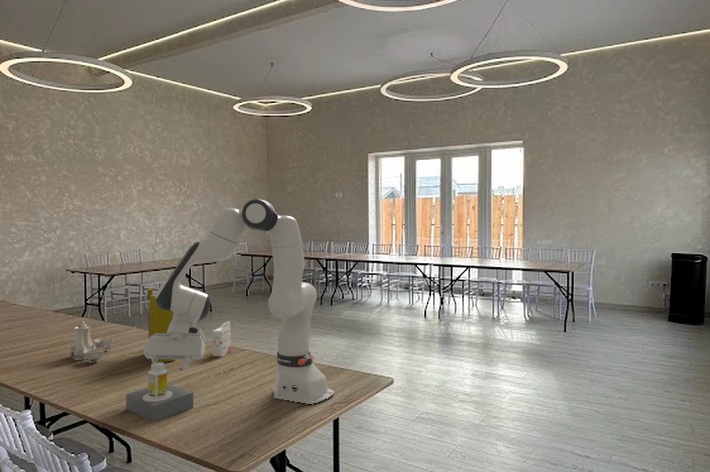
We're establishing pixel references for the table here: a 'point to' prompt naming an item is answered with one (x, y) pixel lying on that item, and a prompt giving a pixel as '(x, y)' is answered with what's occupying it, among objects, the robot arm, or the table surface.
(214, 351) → the ink cartridge box
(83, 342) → the chinaware
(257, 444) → the table surface
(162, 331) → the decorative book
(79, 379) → the table surface
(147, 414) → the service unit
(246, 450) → the table surface
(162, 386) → the supplement bottle
